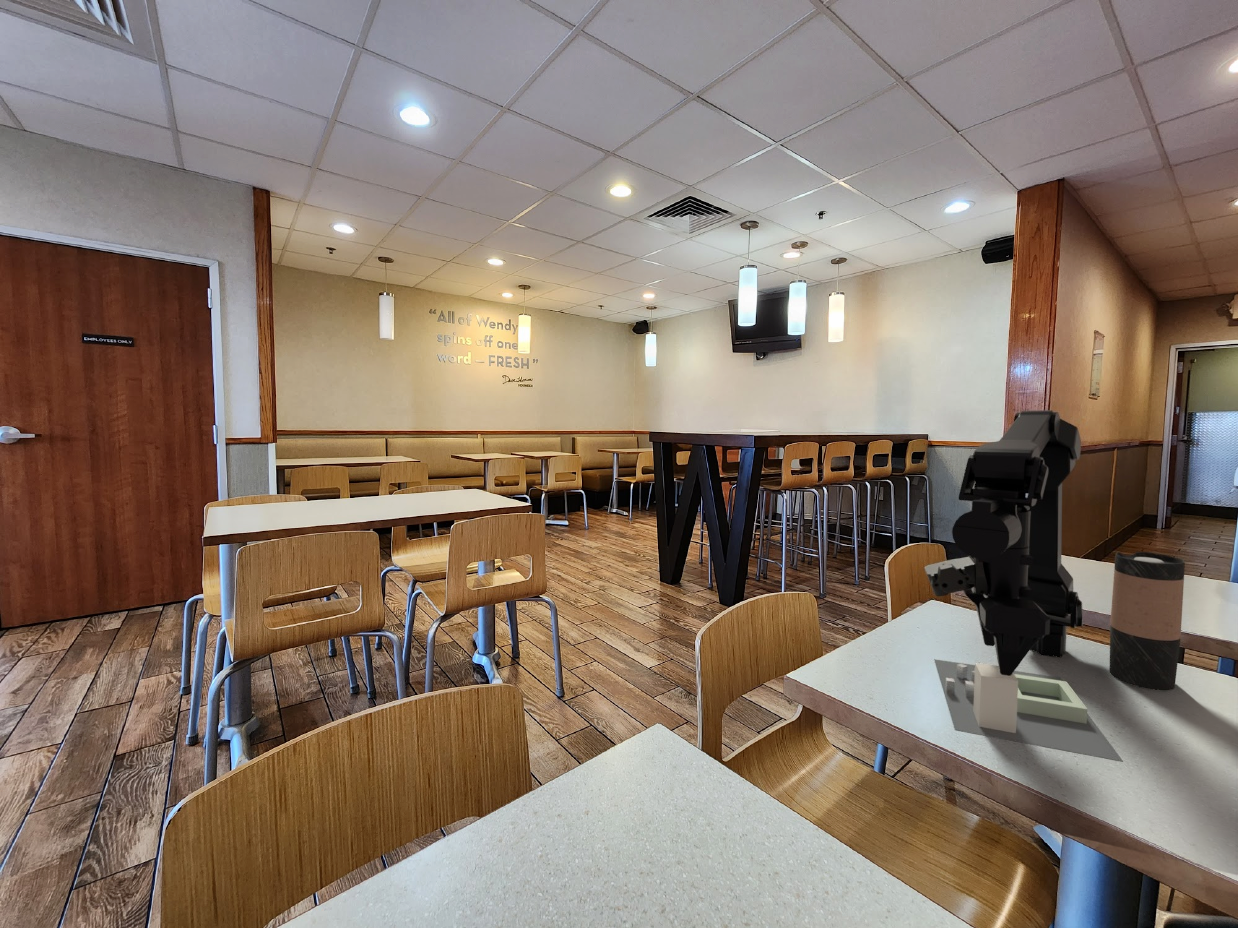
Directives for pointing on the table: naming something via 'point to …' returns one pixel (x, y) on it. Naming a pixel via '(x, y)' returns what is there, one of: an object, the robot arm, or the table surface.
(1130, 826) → the table surface
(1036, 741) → the mat
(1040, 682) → the end holder
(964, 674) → the set of small cubes
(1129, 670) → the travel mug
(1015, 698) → the beige rectangular block
